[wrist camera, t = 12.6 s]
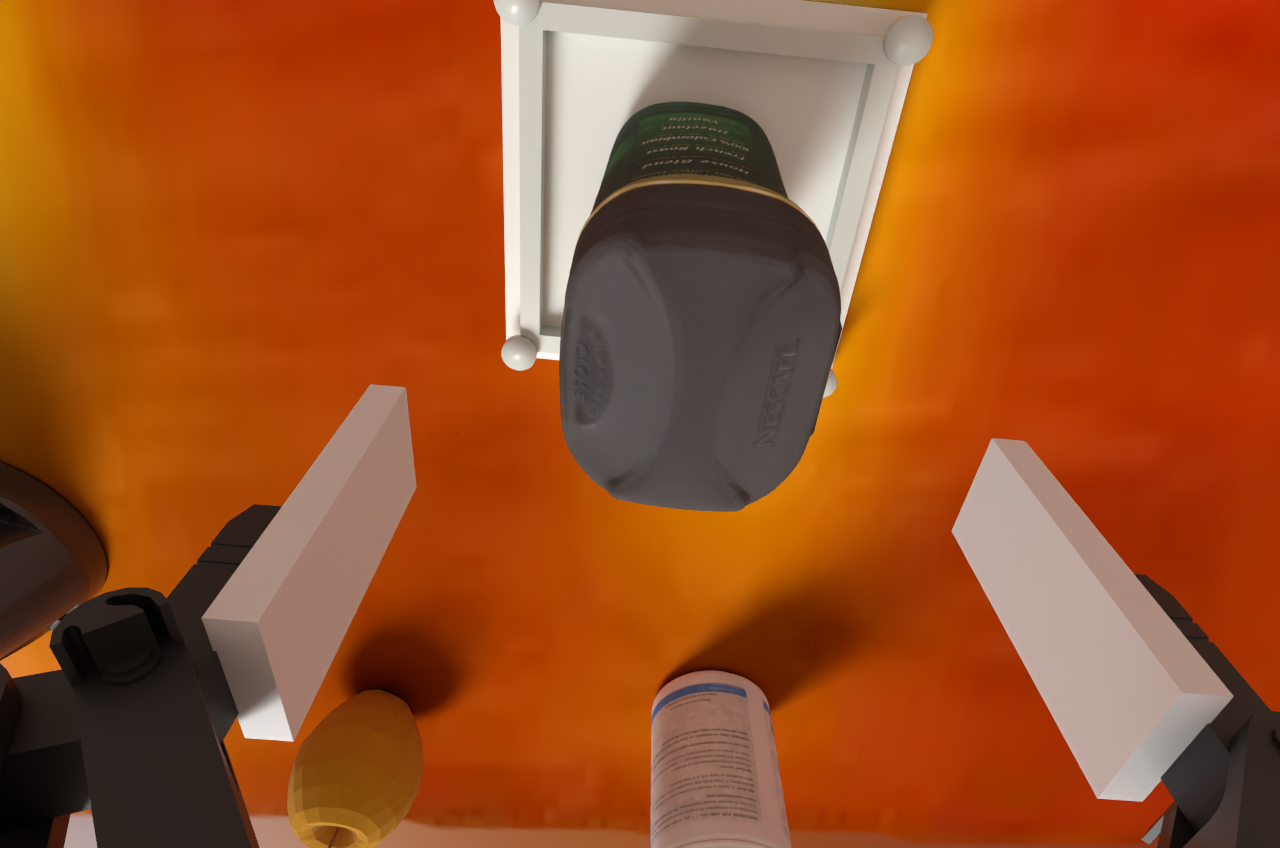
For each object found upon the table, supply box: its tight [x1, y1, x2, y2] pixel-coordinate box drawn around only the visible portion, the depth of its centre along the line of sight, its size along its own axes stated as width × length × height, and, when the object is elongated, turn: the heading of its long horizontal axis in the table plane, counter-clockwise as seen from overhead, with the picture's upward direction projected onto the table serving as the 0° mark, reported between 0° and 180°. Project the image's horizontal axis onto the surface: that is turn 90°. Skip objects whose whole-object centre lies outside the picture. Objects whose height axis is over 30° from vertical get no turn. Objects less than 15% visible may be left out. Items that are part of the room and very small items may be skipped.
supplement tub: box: [651, 670, 791, 848], centre depth 50 cm, size 10×10×15 cm
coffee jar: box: [559, 102, 842, 512], centre depth 26 cm, size 10×8×19 cm
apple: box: [287, 689, 424, 848], centre depth 53 cm, size 10×10×12 cm
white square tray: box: [494, 0, 933, 398], centre depth 33 cm, size 18×18×3 cm
